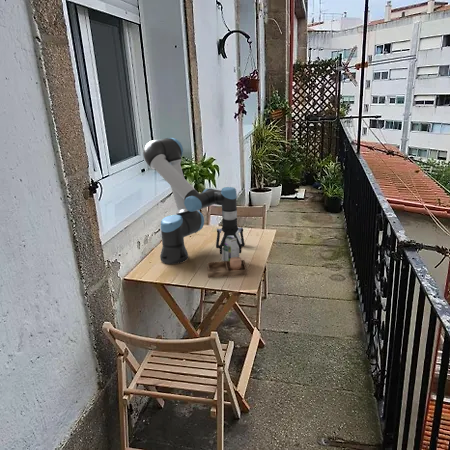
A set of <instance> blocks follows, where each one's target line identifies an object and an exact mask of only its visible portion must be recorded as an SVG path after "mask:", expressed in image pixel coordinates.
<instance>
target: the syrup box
mask: <svg viewBox="0 0 450 450" xmlns="http://www.w3.org/2000/svg"><path fill="white" fill-rule="evenodd" d="M223 251H224V261H230V258H232V257H238V244H237V239H236V238H235V237H234V236H231V235H230V236H227V237H226V239H225V242H224V244H223Z"/></svg>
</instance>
